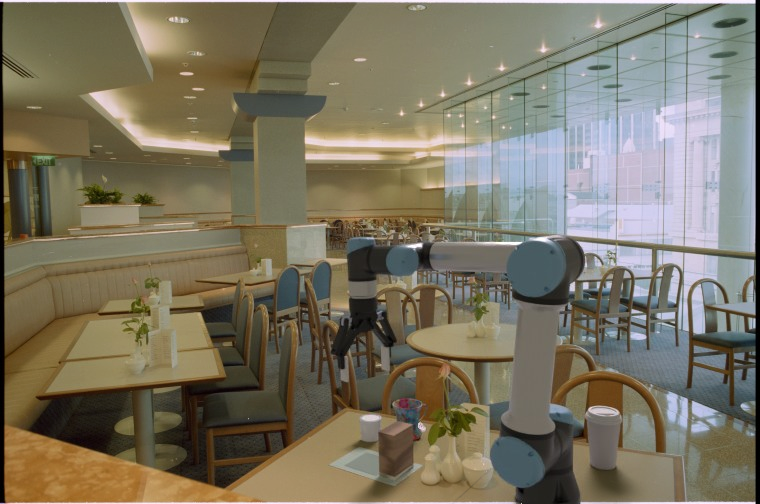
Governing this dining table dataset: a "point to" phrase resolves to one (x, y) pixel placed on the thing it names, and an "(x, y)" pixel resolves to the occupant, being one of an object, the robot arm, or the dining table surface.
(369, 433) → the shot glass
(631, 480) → the dining table surface
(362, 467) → the rubber mat
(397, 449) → the walnut block
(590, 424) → the coffee cup
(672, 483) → the dining table surface
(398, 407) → the mug
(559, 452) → the robot arm
